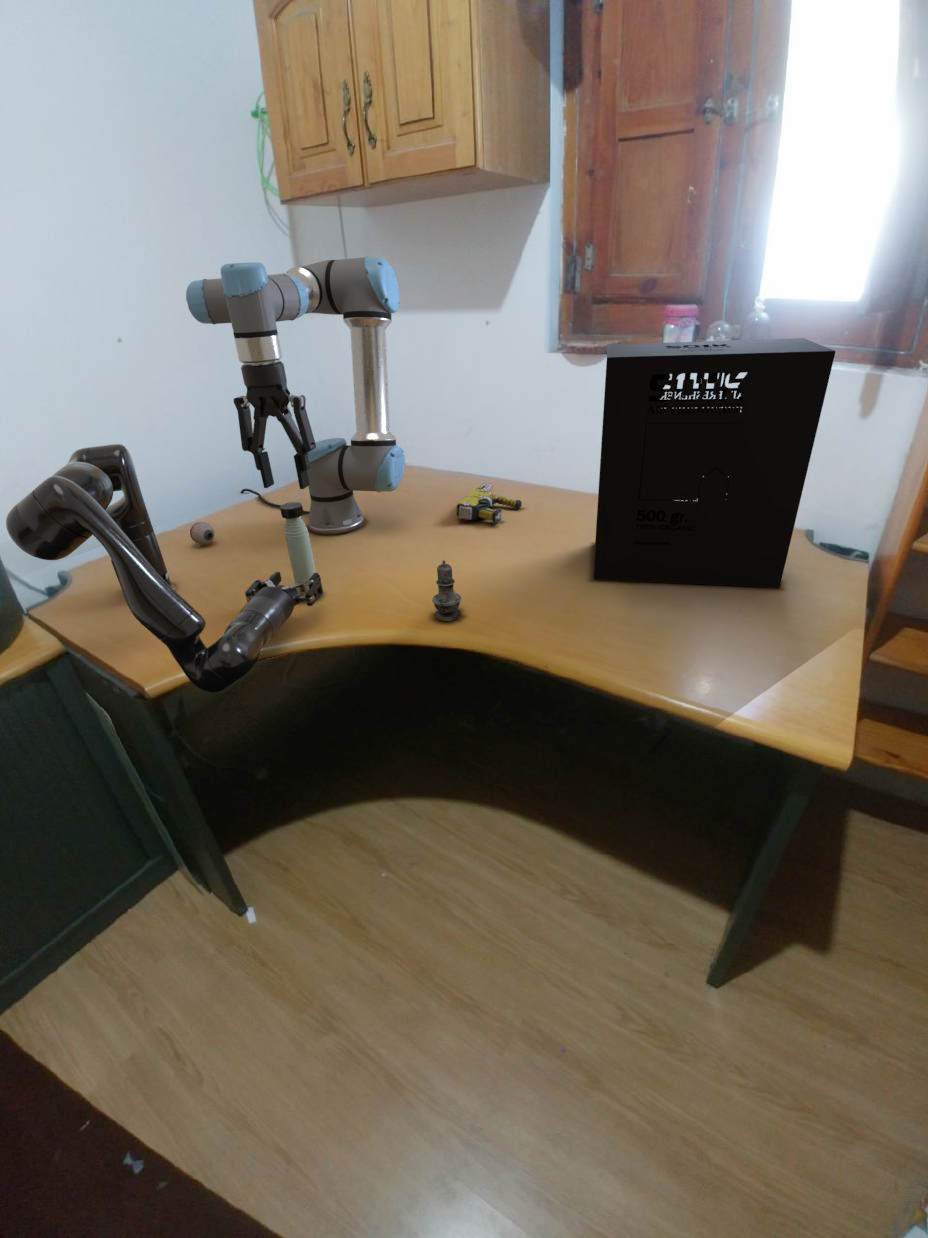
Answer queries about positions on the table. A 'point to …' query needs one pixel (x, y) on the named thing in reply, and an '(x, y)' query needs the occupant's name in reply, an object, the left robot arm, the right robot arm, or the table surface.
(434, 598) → the salt shaker
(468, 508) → the toy gun
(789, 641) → the table surface
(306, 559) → the bottle
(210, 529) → the eyeball
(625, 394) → the cardboard box
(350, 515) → the right robot arm
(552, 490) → the table surface
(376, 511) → the table surface
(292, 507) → the cap
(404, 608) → the table surface
